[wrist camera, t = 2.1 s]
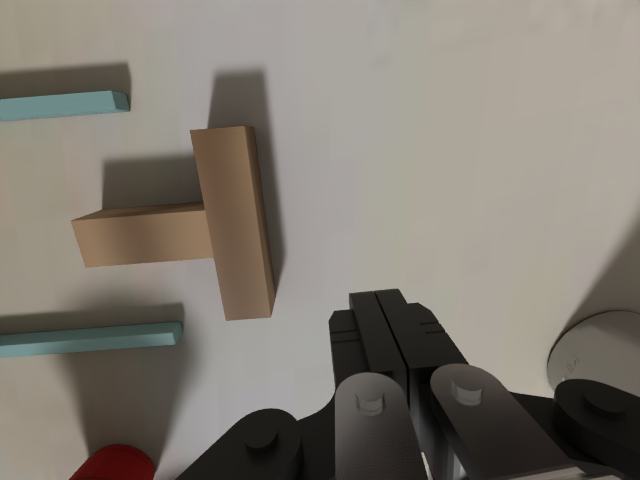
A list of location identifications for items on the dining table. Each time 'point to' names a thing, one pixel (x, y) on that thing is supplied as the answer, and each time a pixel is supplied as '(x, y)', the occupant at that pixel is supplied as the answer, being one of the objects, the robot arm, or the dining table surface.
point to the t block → (199, 225)
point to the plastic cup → (116, 465)
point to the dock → (92, 336)
